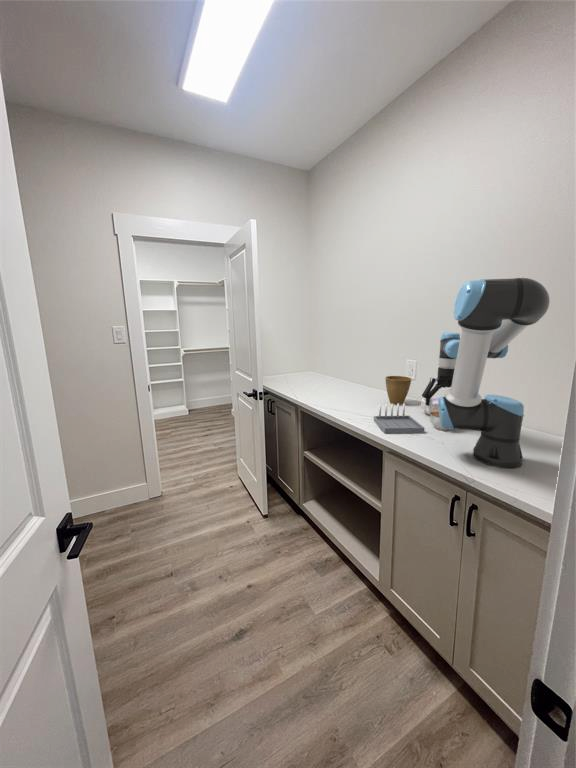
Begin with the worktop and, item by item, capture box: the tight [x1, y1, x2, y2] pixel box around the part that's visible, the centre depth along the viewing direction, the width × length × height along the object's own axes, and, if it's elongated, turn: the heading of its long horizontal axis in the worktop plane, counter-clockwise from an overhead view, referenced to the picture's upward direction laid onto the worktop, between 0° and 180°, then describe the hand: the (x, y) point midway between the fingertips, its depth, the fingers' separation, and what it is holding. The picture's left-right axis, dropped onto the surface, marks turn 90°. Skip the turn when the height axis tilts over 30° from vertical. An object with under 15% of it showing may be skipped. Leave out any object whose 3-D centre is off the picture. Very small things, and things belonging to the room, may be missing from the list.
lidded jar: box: [430, 409, 450, 431], centre depth 145 cm, size 11×11×9 cm
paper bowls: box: [420, 397, 440, 417], centre depth 166 cm, size 15×15×8 cm
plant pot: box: [384, 375, 412, 406], centre depth 187 cm, size 15×15×16 cm
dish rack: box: [373, 402, 425, 435], centre depth 148 cm, size 18×18×9 cm
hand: (443, 411), depth 145 cm, fingers open, 13 cm apart
